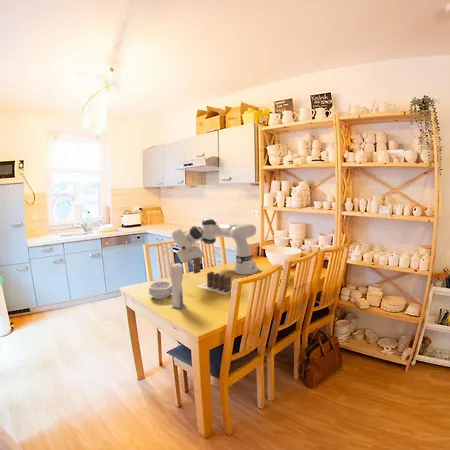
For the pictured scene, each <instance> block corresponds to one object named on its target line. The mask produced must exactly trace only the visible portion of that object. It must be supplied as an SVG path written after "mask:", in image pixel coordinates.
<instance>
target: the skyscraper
mask: <svg viewBox="0 0 450 450" xmlns="http://www.w3.org/2000/svg"><path fill="white" fill-rule="evenodd" d="M169 266H170V267H169V268H170V280H171V281H170V283H172V293H171V308H170V309H171V310H184V308H185V306H187V304H185V303H184V294H183V292H184V291H183V286H182V285H183V277H184V276H183V275H184V267H183V266H184V265H183V263H182V264H181V263H180V262H178V263H173V261H169Z"/></svg>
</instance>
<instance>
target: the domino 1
mask: <svg viewBox="0 0 450 450" xmlns="http://www.w3.org/2000/svg"><path fill="white" fill-rule="evenodd" d="M192 262H193V263H195V264H196V265H195V266H192V267H193V274H198V273H201V264H200V258H195V259H193V260H192Z"/></svg>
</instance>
